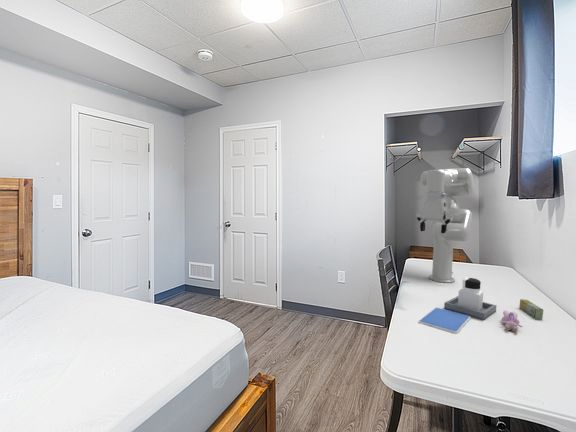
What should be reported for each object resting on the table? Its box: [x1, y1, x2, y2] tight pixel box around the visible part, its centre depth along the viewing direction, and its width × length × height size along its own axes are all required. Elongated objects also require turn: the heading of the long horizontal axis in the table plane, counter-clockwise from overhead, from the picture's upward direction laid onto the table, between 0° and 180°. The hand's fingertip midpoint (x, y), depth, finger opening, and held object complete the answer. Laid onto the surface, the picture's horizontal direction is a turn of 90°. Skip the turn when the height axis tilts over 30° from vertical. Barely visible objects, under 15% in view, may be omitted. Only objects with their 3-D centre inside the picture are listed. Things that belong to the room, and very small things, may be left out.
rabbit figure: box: [499, 310, 523, 335], centre depth 105 cm, size 6×6×15 cm
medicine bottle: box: [457, 277, 484, 311], centre depth 119 cm, size 7×7×12 cm
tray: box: [443, 295, 498, 321], centre depth 119 cm, size 14×14×2 cm
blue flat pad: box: [418, 307, 472, 335], centre depth 109 cm, size 19×13×1 cm, turn 137°
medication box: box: [519, 298, 544, 320], centre depth 118 cm, size 12×3×4 cm, turn 166°
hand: (432, 232), depth 143 cm, fingers open, 9 cm apart
